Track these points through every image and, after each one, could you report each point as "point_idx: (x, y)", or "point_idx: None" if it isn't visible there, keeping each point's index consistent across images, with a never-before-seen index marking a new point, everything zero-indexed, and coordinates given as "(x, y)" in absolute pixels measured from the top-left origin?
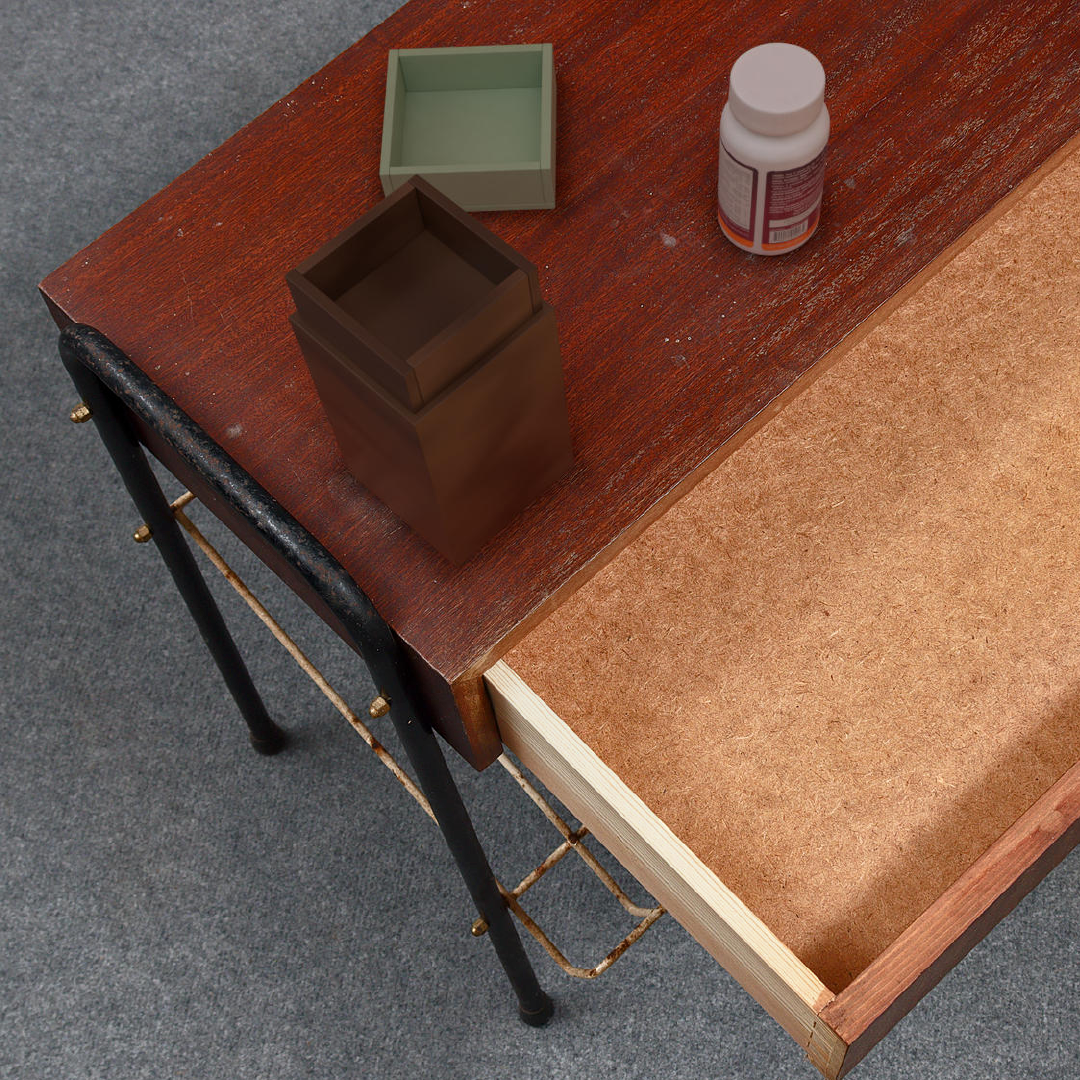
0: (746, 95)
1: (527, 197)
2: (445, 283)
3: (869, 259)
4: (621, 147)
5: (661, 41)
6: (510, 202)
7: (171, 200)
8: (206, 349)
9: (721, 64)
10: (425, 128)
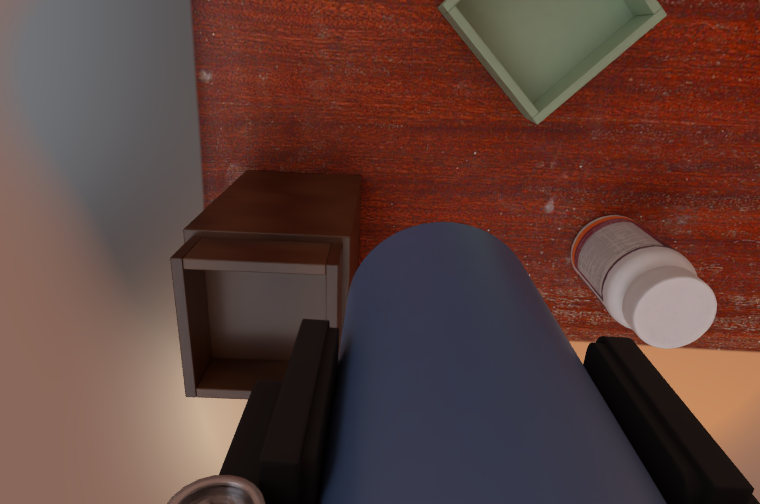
0: (642, 308)
1: (515, 103)
2: (303, 303)
3: (612, 318)
4: (610, 114)
5: (737, 56)
6: (505, 91)
7: None
8: None
9: (735, 118)
10: None
